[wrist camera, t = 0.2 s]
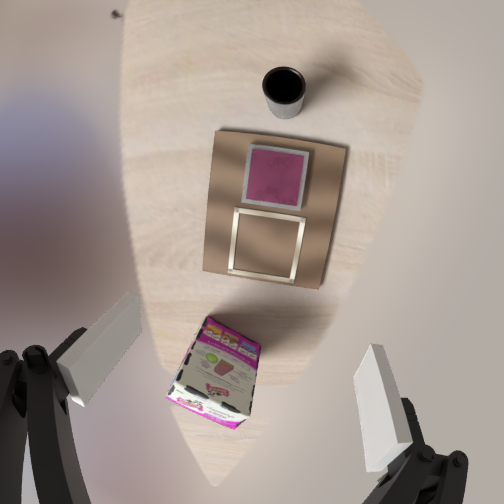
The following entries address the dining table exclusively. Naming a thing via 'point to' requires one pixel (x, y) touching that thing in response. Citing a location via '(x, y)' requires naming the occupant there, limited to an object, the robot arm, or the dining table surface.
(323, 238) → the walnut board
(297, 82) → the gray cylinder
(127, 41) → the dining table surface
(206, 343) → the candy bar box
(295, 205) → the ink pad
